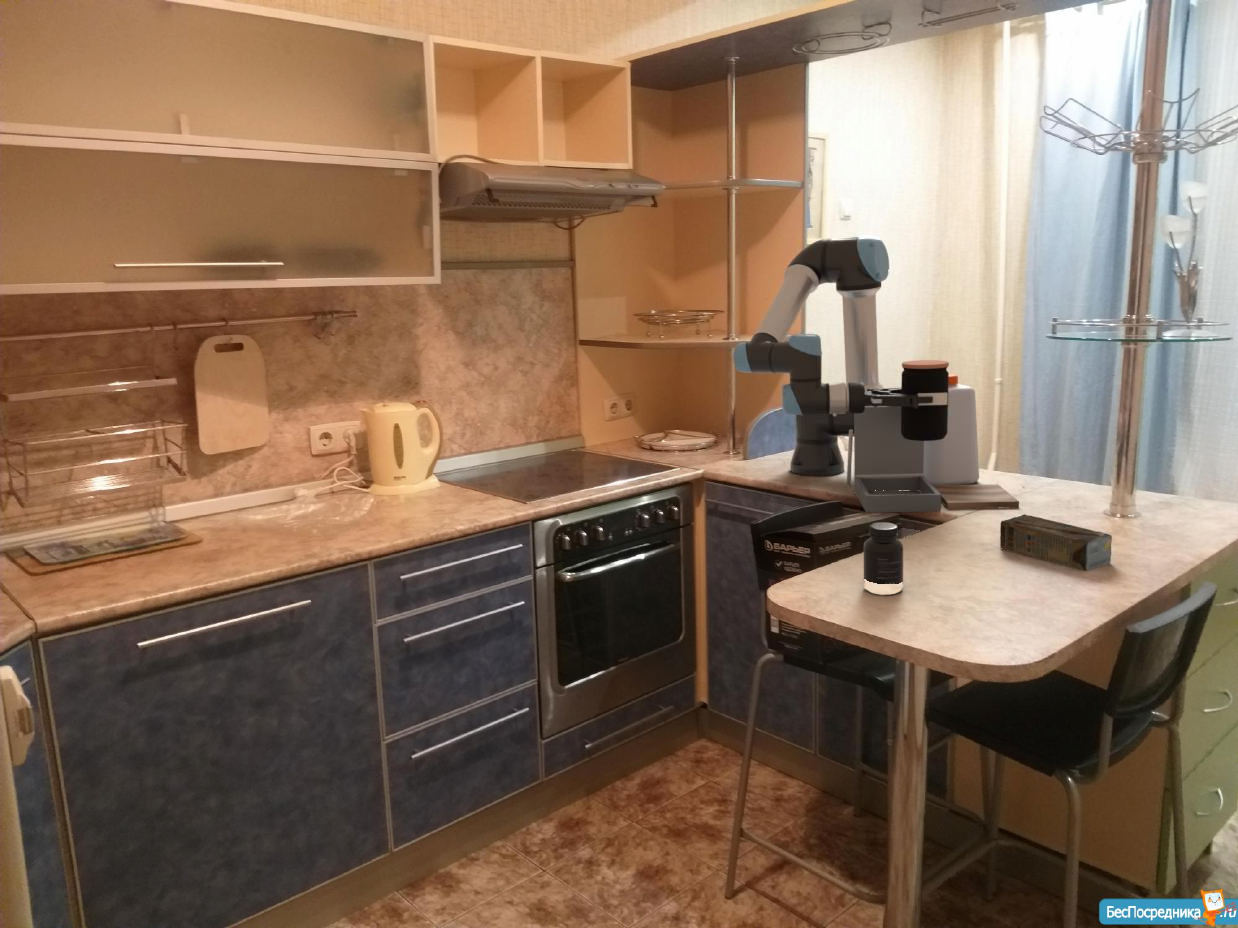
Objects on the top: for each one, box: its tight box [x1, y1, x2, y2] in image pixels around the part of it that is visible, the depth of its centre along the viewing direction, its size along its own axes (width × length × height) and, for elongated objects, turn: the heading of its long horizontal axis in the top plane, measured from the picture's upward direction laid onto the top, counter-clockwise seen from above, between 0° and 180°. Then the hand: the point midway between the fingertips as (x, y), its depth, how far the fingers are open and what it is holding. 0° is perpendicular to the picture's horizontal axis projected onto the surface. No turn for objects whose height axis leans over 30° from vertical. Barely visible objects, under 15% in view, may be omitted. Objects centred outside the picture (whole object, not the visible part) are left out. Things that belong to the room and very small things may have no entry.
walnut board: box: [934, 483, 1020, 510], centre depth 227 cm, size 18×16×2 cm
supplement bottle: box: [863, 521, 904, 584], centre depth 166 cm, size 7×7×12 cm
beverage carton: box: [999, 513, 1113, 572], centre depth 181 cm, size 8×19×7 cm, turn 31°
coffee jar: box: [900, 359, 950, 441], centre depth 222 cm, size 11×11×18 cm
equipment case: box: [846, 406, 942, 513], centre depth 230 cm, size 28×18×22 cm
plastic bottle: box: [923, 373, 980, 486], centre depth 246 cm, size 15×15×28 cm
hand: (942, 395), depth 221 cm, fingers closed on coffee jar, 11 cm apart
